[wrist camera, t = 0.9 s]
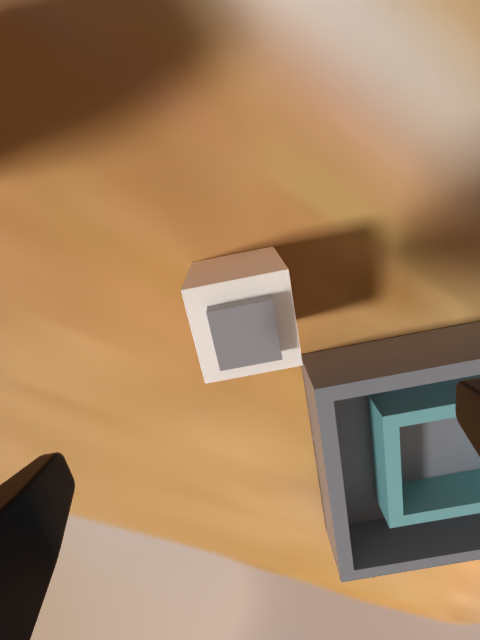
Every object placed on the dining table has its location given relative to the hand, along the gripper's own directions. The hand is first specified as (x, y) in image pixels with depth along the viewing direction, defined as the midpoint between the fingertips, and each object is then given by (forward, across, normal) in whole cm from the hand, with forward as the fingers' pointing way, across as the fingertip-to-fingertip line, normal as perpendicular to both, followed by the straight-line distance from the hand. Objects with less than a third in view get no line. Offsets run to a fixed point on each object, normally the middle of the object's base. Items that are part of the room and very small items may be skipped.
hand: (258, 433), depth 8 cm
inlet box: (+11, -9, +11) cm, 18 cm away
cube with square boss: (+11, 0, 0) cm, 11 cm away
